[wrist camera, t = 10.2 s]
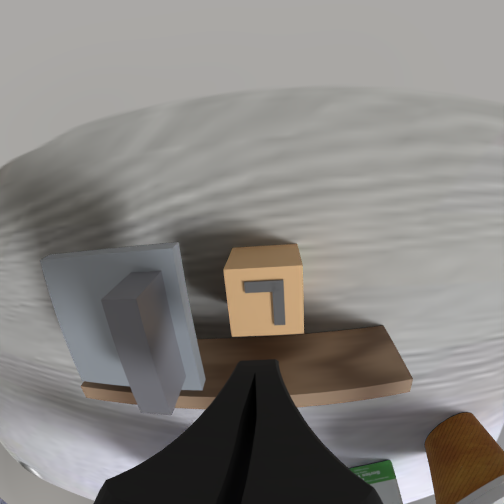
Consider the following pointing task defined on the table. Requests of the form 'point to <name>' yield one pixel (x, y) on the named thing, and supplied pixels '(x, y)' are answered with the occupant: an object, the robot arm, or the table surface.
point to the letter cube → (265, 290)
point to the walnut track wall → (295, 368)
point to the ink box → (381, 480)
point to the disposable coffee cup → (465, 462)
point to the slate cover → (128, 320)
